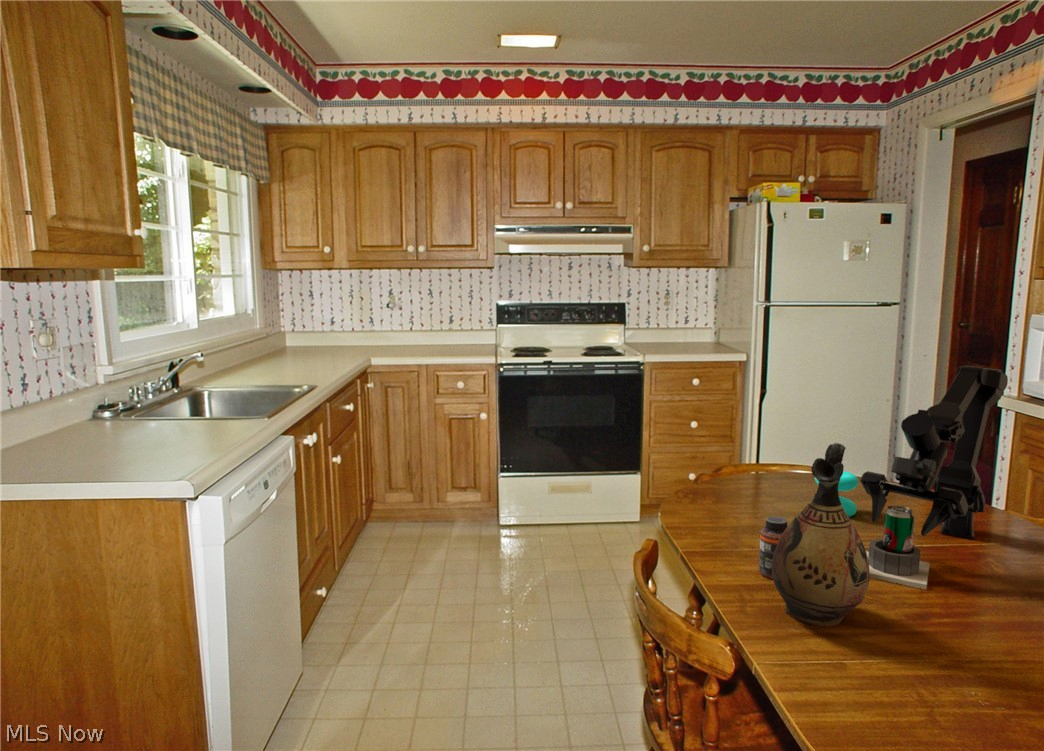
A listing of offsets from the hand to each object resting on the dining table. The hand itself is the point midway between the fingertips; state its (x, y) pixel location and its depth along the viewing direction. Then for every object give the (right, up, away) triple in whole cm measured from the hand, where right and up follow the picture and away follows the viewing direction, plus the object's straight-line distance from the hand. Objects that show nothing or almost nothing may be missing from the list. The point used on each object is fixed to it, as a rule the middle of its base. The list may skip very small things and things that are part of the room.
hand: (897, 528), depth 133 cm
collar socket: (0, -9, +1) cm, 9 cm away
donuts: (+4, -4, +36) cm, 36 cm away
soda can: (0, -8, 0) cm, 8 cm away
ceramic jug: (-23, -11, -16) cm, 30 cm away
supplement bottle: (-25, -9, 0) cm, 26 cm away
